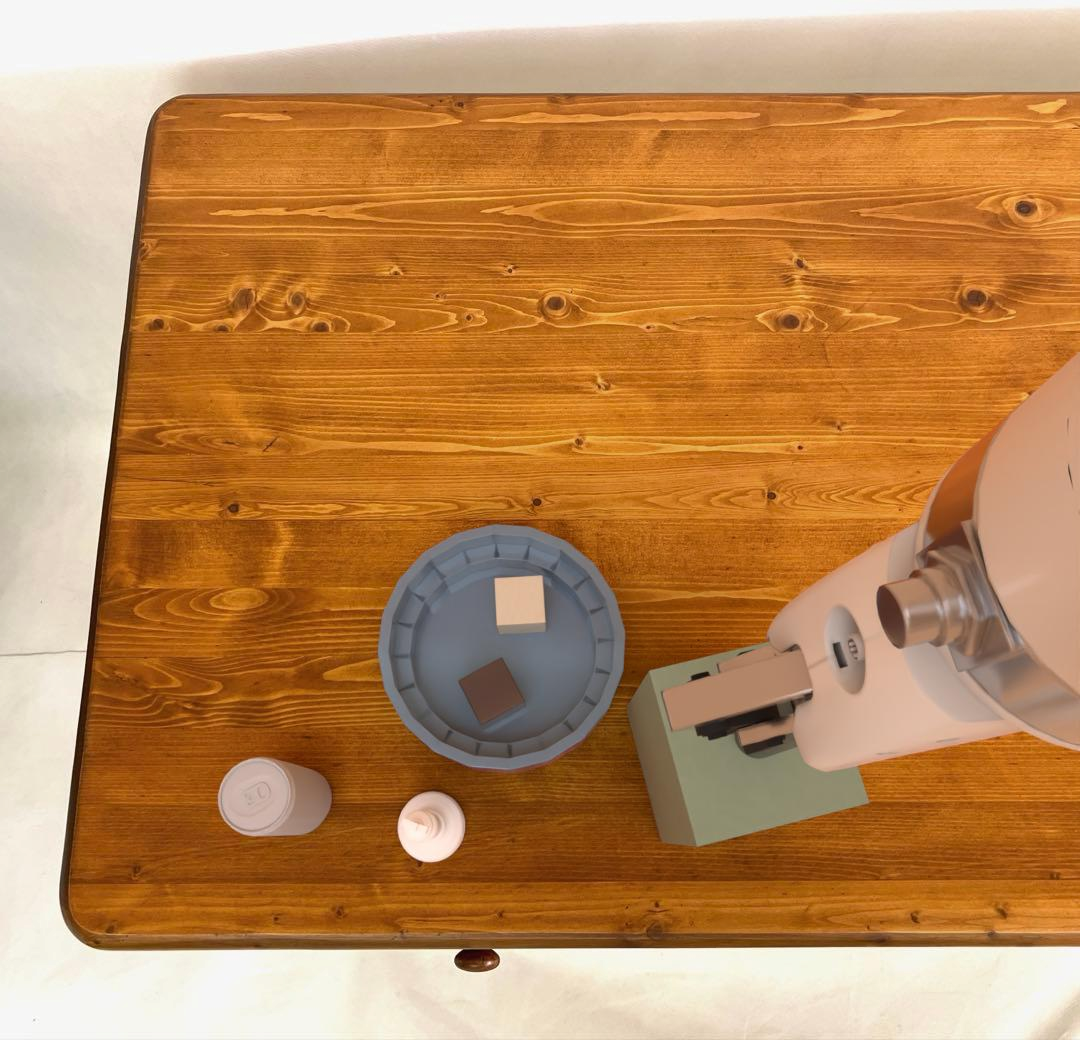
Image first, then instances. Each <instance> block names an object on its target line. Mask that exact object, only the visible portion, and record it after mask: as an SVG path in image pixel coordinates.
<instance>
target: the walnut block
mask: <svg viewBox="0 0 1080 1040" xmlns="http://www.w3.org/2000/svg"><path fill="white" fill-rule="evenodd" d="M458 682H459V684H460V686H461V688H462V690H463V692H464V694H465V696H466V698H467V700H468V702H469V704H470V706H471V708H472V709H473V711H474V713H475V715H476V717H477V719H478V721H479V723H480V725H481V726H482V728H483V729H486V728H488V727H490V726H492V725H494V724H496V723H497V722H499V721H501V720H503V719H505V718H507V717H508V716H510V715H512V714H514V713H516V712H517V711H519V710H521V709H523V708H525V707H526V705H525V700H524V698H523V696H522V694H521V692H520V690H519V688H518V686H517V685H516V683H515V681H514V679H513V677H512V675H511V673H510V671H509V670H508V668H507V666H506V664H505V662H504V660H503V658H499V659H497V660H495V661H494V662H492V663H490V664H488V665H486V666H484V667H482V668H481V669H479V670H477V671H475V672H473V673H471V674H469V675H467V676H466V677H464V678H462V679H460V680H459V681H458Z"/></svg>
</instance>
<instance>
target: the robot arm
mask: <svg viewBox="0 0 1080 1040" xmlns="http://www.w3.org/2000/svg"><path fill="white" fill-rule="evenodd" d="M765 640H766V641H765V642H769V641H770V644H769V645H766V646H763V647H761V648H758V649H755V650H754V649H753V650H749V651H745V652H741V653H739V654H738V655H737V656H736V657H733V658H730V659H727V660H725V661H722V662H719V663H717V664H716V665H717V669H718V672H719V673H718V674H714V675H710V674H709V672H708V671H707V672H702V673H698V674H695V675H692V676H691V680H690V681H688V682H687V683H684V684H681V685H677V686H674V687H671V688H668V689H665V690H662V691H661V695H662V699H663V703H664V706H665V710H666V713H667V717H668V721H669V724H670V728H671V732H676V731H687V730H692V729H695V730H696V733H697V736H702V737H707V736H708V740H709V741H710V740H715V739H719V738H721V737H726V736H728V735H730V734H734V733H737V737H738V740H739V743H740V746H743V749H744V751H745V753H746V754H747V755H749V754H753V753H757V752H761V751H764V750H767V749H770V748H773V747H776V746H779V745H782V744H783V740H785V739H786V734H789V733H793V735H794V738H795V741H796V744H797V746H798V748H799V751H800V753H801V755H802V758H803V760H804V762H805V763H806V764H808V765H809V766H811V767H813V768H815V769H817V770H820V771H824V772H829V771H835V770H840V769H845V768H850V767H854V766H858V767H859V766H863V765H867V764H871V763H872V764H873V763H876V762H880V761H887V760H889V759H894V758H900V757H904V756H908V755H912V754H919V753H923V752H929V751H933V750H939V749H942V748H943V749H944V748H949V747H954V746H959V745H963V744H969V743H975V742H978V741H983V740H988V739H993V738H998V737H1003V736H1007V735H1012V734H1016V733H1022V732H1024V733H1025V734H1029V735H1031V736H1033V737H1035V738H1037V739H1040V740H1042V741H1044V742H1046V743H1048V744H1051V745H1056V746H1057V747H1062V748H1065V749H1069V750H1072V751H1076V752H1080V350H1079V351H1078V352H1077V353H1076V354H1075V355H1074V356H1073V357H1071V358H1070V359H1069V360H1068V361H1066V363H1065V364H1064V365H1062V366H1061V367H1060V368H1059V369H1058V370H1057V371H1056V372H1054V374H1053V375H1051V376H1050V377H1049V378H1048V379H1047V380H1046V381H1045V382H1043V383H1042V384H1041V385H1039V387H1038V388H1037V389H1036V390H1034V391H1033V392H1032V393H1031V394H1030V395H1029V396H1027V397H1026V398H1025V399H1024V400H1022V401H1021V402H1020V403H1019V404H1018V405H1017V406H1016V407H1015V408H1014V409H1013V410H1012V411H1011V412H1009V413H1008V414H1007V415H1006V416H1005V417H1003V419H1001V420H1000V421H999V422H998V423H997V424H996V425H995V426H994V427H992V428H991V429H990V430H989V431H988V432H987V433H986V434H984V436H982V437H981V438H980V439H979V440H977V441H976V442H975V443H974V444H973V445H972V446H970V447H969V448H968V449H967V450H966V451H965V452H964V453H962V455H960V456H959V457H958V458H957V459H956V460H955V461H954V462H953V463H952V465H950V466H949V467H948V468H947V469H946V471H945V472H944V473H943V474H942V476H941V477H940V478H939V480H938V481H937V483H936V484H935V486H934V487H933V489H932V490H931V491H930V494H929V496H928V498H927V500H926V503H925V505H924V507H923V510H922V512H921V514H920V517H919V520H917V521H915V522H914V523H912V524H910V525H909V526H907V527H904V528H903V529H901V530H899V531H897V532H896V533H894V534H892V535H890V536H889V537H887V538H885V539H883V540H881V541H879V542H875V543H873V544H872V545H871V546H870V547H869V548H868V549H866V550H865V551H863V552H861V553H859V554H858V555H856V556H854V557H853V558H851V559H849V560H848V561H846V562H845V563H843V564H841V565H840V566H838V567H837V568H835V569H833V570H832V571H830V572H829V573H827V574H825V575H823V577H820V579H818V580H816V581H815V582H814V583H812V584H811V585H810V586H808V587H807V588H805V589H804V590H802V591H801V592H800V593H799V594H798V595H796V596H795V597H794V598H792V599H791V600H790V601H789V602H788V603H787V604H786V605H784V606H783V607H782V609H781V610H780V611H779V612H777V614H776V616H775V617H774V619H773V620H772V621H771V623H770V624H769V627H768V629H767V633H766V636H765ZM787 701H790V702H791V705H792V708H793V711H794V713H793V714H789V715H786V716H783V717H780V714H779V711H778V707H777V704H780V703H784V702H787Z"/></svg>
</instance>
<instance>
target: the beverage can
mask: <svg viewBox="0 0 1080 1040" xmlns="http://www.w3.org/2000/svg"><path fill="white" fill-rule="evenodd" d="M332 804H333V794H332V790H331V786H330V784H329V782H328V780H327V778H326V777H324V776H323V775H322V774H321V773H320V772H319V771H317V770H314V769H311V768H308V767H305V766H302V765H298V764H295V763H291V762H288V761H284V760H280V759H276V758H272V757H266V756H257V757H250V758H248V759H245V760H242V761H240V762H238V763H237V764H235V765H234V766H232V768H230V770H229V771H228V772H227V773H226V774H225V775H224V777H223V779H222V782H221V783H220V786H219V789H218V792H217V807H218V810H219V814H220V815H221V817H222V819H223V821H224V822H225V823H226V824H227V825H228V826H229V827H230V828H231V829H232V830H234V831H236V832H237V833H239V834H241V835H245V836H249V837H282V836H284V837H285V836H302V835H306V834H308V833H311V832H313V831H315V829H317V828H318V827H319V826H320V825H321V824H322V823H323V822H324V820H325V819H326V818H327V816H328V814H329V812H330V810H331V806H332Z"/></svg>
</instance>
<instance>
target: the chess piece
mask: <svg viewBox="0 0 1080 1040" xmlns="http://www.w3.org/2000/svg"><path fill="white" fill-rule="evenodd" d="M465 831H466V819H465V815H464V812H463V810H462V808H461V806H460V805H459V802H457V801H456V800H455V799H454V798H453V797H451V796H450V795H448V794H446V793H444V792H441V791H434V790H433V791H425V792H422V793H418V794H417V795H415V796H414V797H412V798H411V799H410V800H409V801H408V802H406V804H405V805H404V807H403V808H402V810H401V812H400V814H399V816H398V821H397V835H398V839H399V842H400V844H401V846H402V848H403V850H405V852H406V853H407V854H408V855H410V856H411V857H412V858H414V859H415V860H418V861H420V862H424V863H436V862H437V863H438V862H440V861H443V860H446V859H447V858H450V856H452V855H453V854H454V853H455V852H456V851H457V850H458V849H459V847H460V845H462V842H463V839H464V836H465V833H466V832H465Z"/></svg>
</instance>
